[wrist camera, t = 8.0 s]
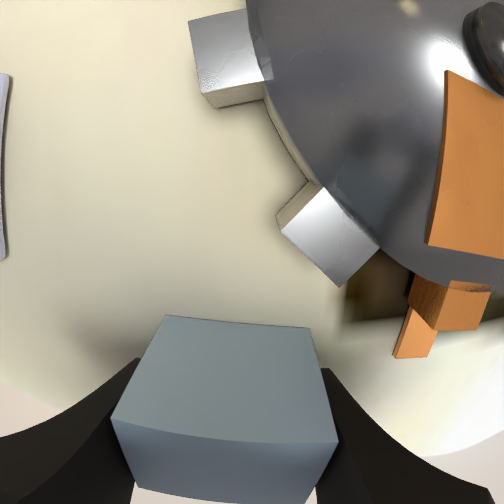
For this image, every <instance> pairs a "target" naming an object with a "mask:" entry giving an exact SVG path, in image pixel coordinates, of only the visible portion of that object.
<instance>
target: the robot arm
mask: <svg viewBox="0 0 504 504" xmlns="http://www.w3.org/2000/svg"><path fill="white" fill-rule="evenodd" d="M8 87H9V76H8V75H7V74H3V73H0V261H2V260H3V259H4V258H5V243H4V234H3V223H2V209H1V146H2V132H3V122H4V113H5V106H6V99H7V92H8ZM141 359H142V358H135V359H134V360H133V361H132V362H130V363H129V364H128V365H127V366H125V367H124V368H123V369H122V370H121V371H119V372H118V373H117V374H116V375H114V376H113V377H112V378H111V379H109V380H108V381H107V382H106V383H104V384H103V385H102V386H100V387H99V388H98V389H97V390H95V391H94V392H92V393H91V394H90V395H88V396H87V397H85V398H84V399H82V400H81V401H79V402H78V403H77V404H75V405H74V406H72V407H70V408H69V409H67V410H65V411H64V412H62V413H60V414H58V415H56V416H55V417H53V418H51V419H49V420H47V421H45V422H43V423H40V424H38V425H35V426H33V427H30V428H28V429H26V430H23V431H20V432H17V433H14V434H11V435H8V436H4V437H0V504H130V501H131V496H132V492H133V488H134V483H135V479H134V477H133V475H132V472H131V470H130V468H129V465H128V463H127V461H126V458H125V456H124V453H123V451H122V448H121V446H120V443H119V441H118V438H117V435H116V433H115V430H114V427H113V424H112V421H111V416H112V414H113V412H114V410H115V408H116V406H117V404H118V402H119V400H120V398H121V396H122V395H123V393H124V391H125V389H126V387H127V385H128V383H129V381H130V379H131V377H132V376H133V374H134V372H135V370H136V368H137V366H138V364H139V362H140V361H141ZM320 370H321V374H322V378H323V381H324V385H325V389H326V393H327V397H328V401H329V405H330V409H331V413H332V417H333V421H334V425H335V429H336V433H337V437H338V441H339V442H338V444H337V446H336V448H335V450H334V452H333V454H332V456H331V458H330V460H329V462H328V464H327V466H326V467H325V469H324V471H323V473H322V475H321V477H320V478H319V480H318V482H317V484H316V485H315V488H316V495H317V504H495V502H494V500H493V498H492V496H491V494H490V492H489V490H488V489H487V488H485V487H482V486H478V485H476V484H472V483H470V482H467V481H464V480H461V479H459V478H457V477H454V476H452V475H450V474H448V473H446V472H444V471H441V470H440V469H438V468H436V467H434V466H432V465H431V464H429V463H427V462H426V461H424V460H423V459H421V458H419V457H418V456H416V455H415V454H413V453H412V452H410V451H409V450H407V449H406V448H405V447H403V446H402V445H401V444H400V443H398V442H397V441H396V440H395V439H393V438H392V437H391V436H390V435H389V434H387V433H386V432H385V431H384V430H383V429H382V428H381V427H380V426H379V425H378V424H377V423H376V422H375V421H374V420H373V419H372V418H371V417H370V416H369V415H368V414H367V413H366V412H365V411H364V410H363V408H362V407H361V406H360V405H359V404H358V403H357V402H356V401H355V399H354V398H353V397H352V396H351V395H350V393H349V392H348V391H347V390H346V389H345V387H344V386H343V385H342V384H341V382H340V381H339V380H338V378H337V377H336V376H335V375H334V373H333V372H332V371H331V370H330V369H329V368H320Z"/></svg>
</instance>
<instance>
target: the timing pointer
mask: <svg viewBox="0 0 504 504" xmlns="http://www.w3.org/2000/svg"><path fill="white" fill-rule="evenodd" d="M436 334H437V331H433V330H432V329H431V328H430V327H429V326H428V324H427V323H426V322H425V321H424V320H423V319H422V318H421V317H420V316H419V314H418V313H417V312H416V311H415V310H414V309H413V308H412V307H411V306H409V309H408V313H407V316H406V319H405V322H404V325H403V328H402V331H401V334H400V336H399V339H398V342H397V345H396V348H395V350H394V353H393V356H394V357H395V359H404V358H421V357H427V356H428V354H429V351H430V349H431V347H432V344H433V342H434V339H435V337H436Z"/></svg>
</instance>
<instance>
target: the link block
mask: <svg viewBox="0 0 504 504" xmlns="http://www.w3.org/2000/svg"><path fill="white" fill-rule="evenodd" d="M111 421H112V424H113V427H114V430H115V433H116V435H117V438H118V441H119V443H120V446H121V448H122V451H123V453H124V456H125V458H126V461H127V463H128V465H129V468H130V470H131V472H132V475H133V477H134V479H135V481H136V483H137V486H138V487H139V488H144V489H147V490H152V491H156V492H161V493H165V494H170V495H176V496H181V497H187V498H193V499H200V500H207V501H215V502H224V503H237V504H305V502H306V500H307V499H308V497H309V495H310V494H311V492H312V490H313V489H314V487H315V485H316V484H317V482H318V480H319V478H320V477H321V475H322V473H323V471H324V469H325V467H326V466H327V464H328V462H329V460H330V458H331V456H332V454H333V452H334V450H335V448H336V446H337V444H338V442H339V441H338V437H337V433H336V429H335V425H334V421H333V417H332V413H331V409H330V405H329V401H328V397H327V393H326V389H325V385H324V381H323V378H322V374H321V370H320V366H319V363H318V359H317V355H316V351H315V348H314V344H313V340H312V337H311V333H310V330H309V328H298V327H282V326H268V325H255V324H244V323H233V322H223V321H213V320H204V319H195V318H187V317H179V316H171V315H165V317H164V319H163V321H162V323H161V324H160V326H159V328H158V330H157V331H156V333H155V335H154V337H153V339H152V340H151V342H150V344H149V346H148V348H147V350H146V351H145V353H144V355H143V357H142V359H141V361H140V362H139V364H138V366H137V368H136V370H135V372H134V374H133V376H132V377H131V379H130V381H129V383H128V385H127V387H126V389H125V391H124V393H123V395H122V396H121V398H120V400H119V402H118V404H117V406H116V408H115V410H114V412H113V414H112V416H111Z"/></svg>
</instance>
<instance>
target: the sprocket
mask: <svg viewBox="0 0 504 504" xmlns="http://www.w3.org/2000/svg"><path fill="white" fill-rule="evenodd" d="M246 7H247V9H241V10H236V11H230V12H225V13H220V14H216V15H211V16H207V17H203V18H199V19H195V20H191V21H188V25H189V31H190V36H191V41H192V47H193V52H194V57H195V63H196V68H197V73H198V78H199V83H200V89H201V94H202V95H203V96H204V97H205V98H206V99H207V100H208V102H209V103H210V104H211V105H212V106H213V108H214V109H215V108H220V107H224V106H229V105H234V104H239V103H244V102H249V101H254V100H260V99H263V100H264V103H265V105H266V108H267V110H268V113H269V116H270V118H271V120H272V122H273V124H274V126H275V127H276V129H277V131H278V133H279V135H280V137H281V139H282V141H283V143H284V145H285V147H286V148H287V150H288V151H289V153H290V154H291V156H292V157H293V159H294V160H295V162H296V163H297V165H298V166H299V168H300V169H301V171H302V172H303V174H304V175H305V177H306V178H307V179H308V180H309V182H308V183H307V184H306V185H305V186H304V187H303V188H302V189H301V190H300V191H299V192H298V193H297V194H296V195H295V196H294V197H293V198H292V199H291V200H290V201H289V202H288V203H287V204H286V205H285V206H284V207H283V208H282V209H281V210H280V211H279V213H278V214H277V215H276V218H277V222H278V225H279V228H280V231H281V232H282V233H283V234H284V235H285V236H286V237H287V238H288V239H289V240H290V241H291V242H292V243H293V244H294V245H295V246H297V247H298V248H299V249H300V250H301V251H302V252H303V253H304V254H305V255H306V256H307V257H308V258H309V259H310V260H311V261H312V262H313V263H314V264H315V265H316V266H317V267H318V268H319V269H320V270H322V271H323V272H324V273H325V274H326V275H327V276H328V277H329V278H330V279H331V280H332V281H333V282H334V283H335V284H336V285H337V286H338V287H340V286H341V285H343V284H344V283H345V282H346V281H347V280H348V279H349V278H350V277H351V276H352V275H353V274H354V273H355V272H356V271H357V270H358V269H359V268H360V267H361V266H362V265H363V264H364V263H365V262H366V261H367V260H368V259H369V258H370V257H371V256H372V255H373V254H374V253H375V252H376V251H377V250H378V249H379V248H380V249H382V250H383V251H384V252H386V253H387V254H388V255H389V256H391V257H392V258H393V259H394V260H396V261H397V262H398V263H399V264H401V265H402V266H404V267H406V268H408V269H409V270H411V271H413V272H414V273H415V276H414V279H413V283H412V286H411V290H410V293H409V296H408V299H407V303H408V304H409V305H410V306H411V307H412V308H413V309H414V310H415V311H416V312H417V313H418V314H419V316H420V317H421V318H422V319H423V320H424V321H425V322H426V323H427V324H428V326H429V327H430V328H431V329H432V330H433V331H466V330H476V329H477V327H478V325H479V322H480V320H481V317H482V315H483V312H484V309H485V307H486V304H487V301H488V299H489V296H490V293H491V292H493V291H498V290H502V289H504V0H246Z"/></svg>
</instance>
